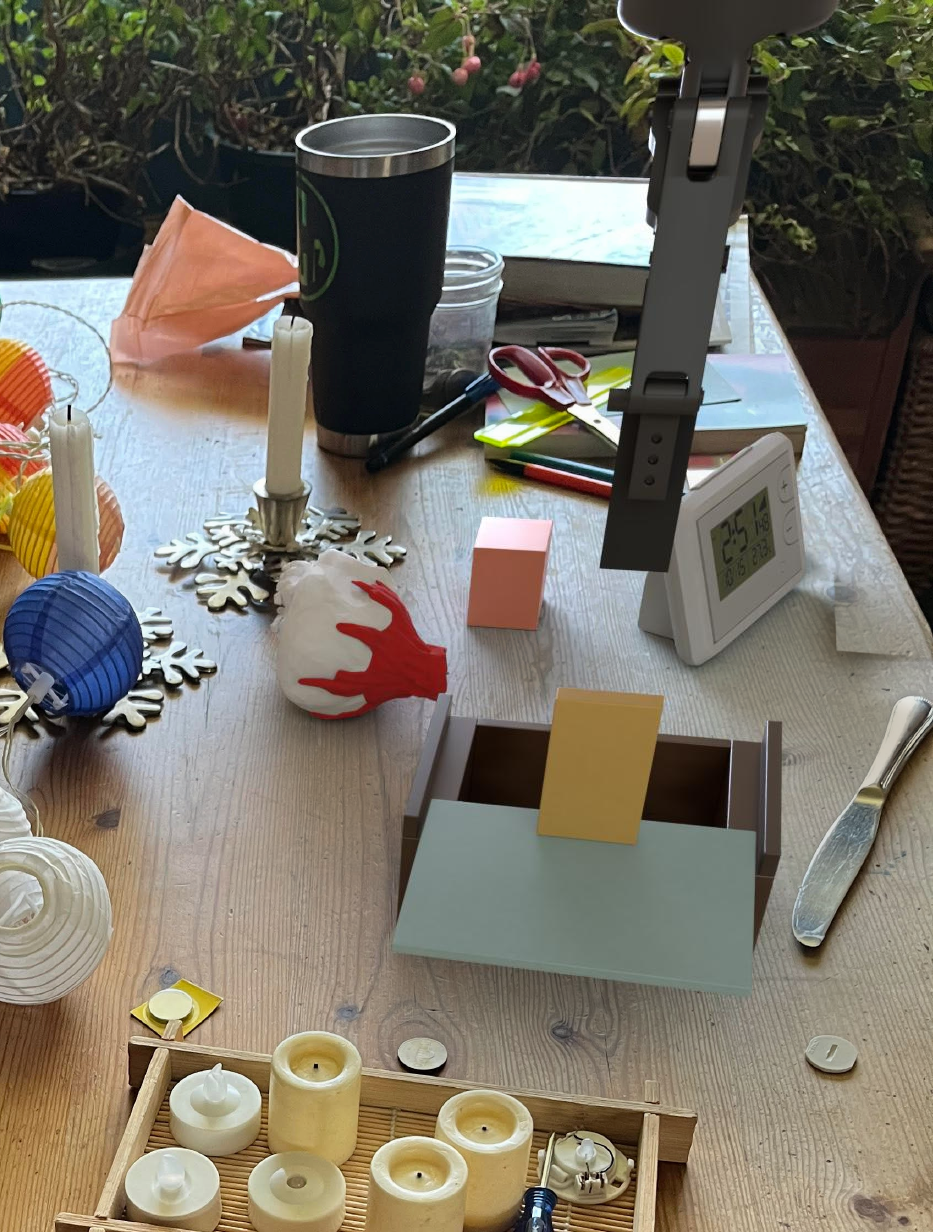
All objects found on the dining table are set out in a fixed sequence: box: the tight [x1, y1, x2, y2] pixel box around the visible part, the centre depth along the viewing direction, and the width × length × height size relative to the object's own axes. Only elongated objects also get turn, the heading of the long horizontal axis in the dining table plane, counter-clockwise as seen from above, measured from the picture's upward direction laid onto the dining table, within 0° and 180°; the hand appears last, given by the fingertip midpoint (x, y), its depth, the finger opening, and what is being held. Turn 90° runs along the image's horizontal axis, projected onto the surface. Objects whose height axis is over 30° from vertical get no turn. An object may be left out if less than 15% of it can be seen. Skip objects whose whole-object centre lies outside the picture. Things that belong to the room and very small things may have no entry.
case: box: [395, 693, 783, 954], centre depth 87 cm, size 19×13×9 cm
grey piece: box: [390, 686, 756, 999], centre depth 75 cm, size 17×13×9 cm
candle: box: [269, 548, 450, 720], centre depth 105 cm, size 9×11×15 cm
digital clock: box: [637, 431, 807, 666], centre depth 108 cm, size 16×9×11 cm, turn 126°
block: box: [466, 516, 554, 631], centre depth 113 cm, size 5×5×6 cm
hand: (643, 495), depth 68 cm, fingers open, 13 cm apart
